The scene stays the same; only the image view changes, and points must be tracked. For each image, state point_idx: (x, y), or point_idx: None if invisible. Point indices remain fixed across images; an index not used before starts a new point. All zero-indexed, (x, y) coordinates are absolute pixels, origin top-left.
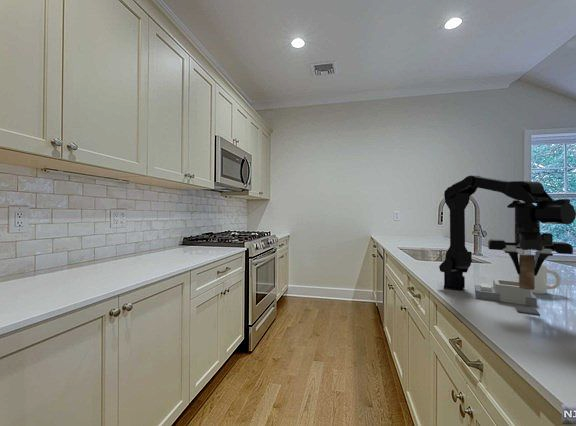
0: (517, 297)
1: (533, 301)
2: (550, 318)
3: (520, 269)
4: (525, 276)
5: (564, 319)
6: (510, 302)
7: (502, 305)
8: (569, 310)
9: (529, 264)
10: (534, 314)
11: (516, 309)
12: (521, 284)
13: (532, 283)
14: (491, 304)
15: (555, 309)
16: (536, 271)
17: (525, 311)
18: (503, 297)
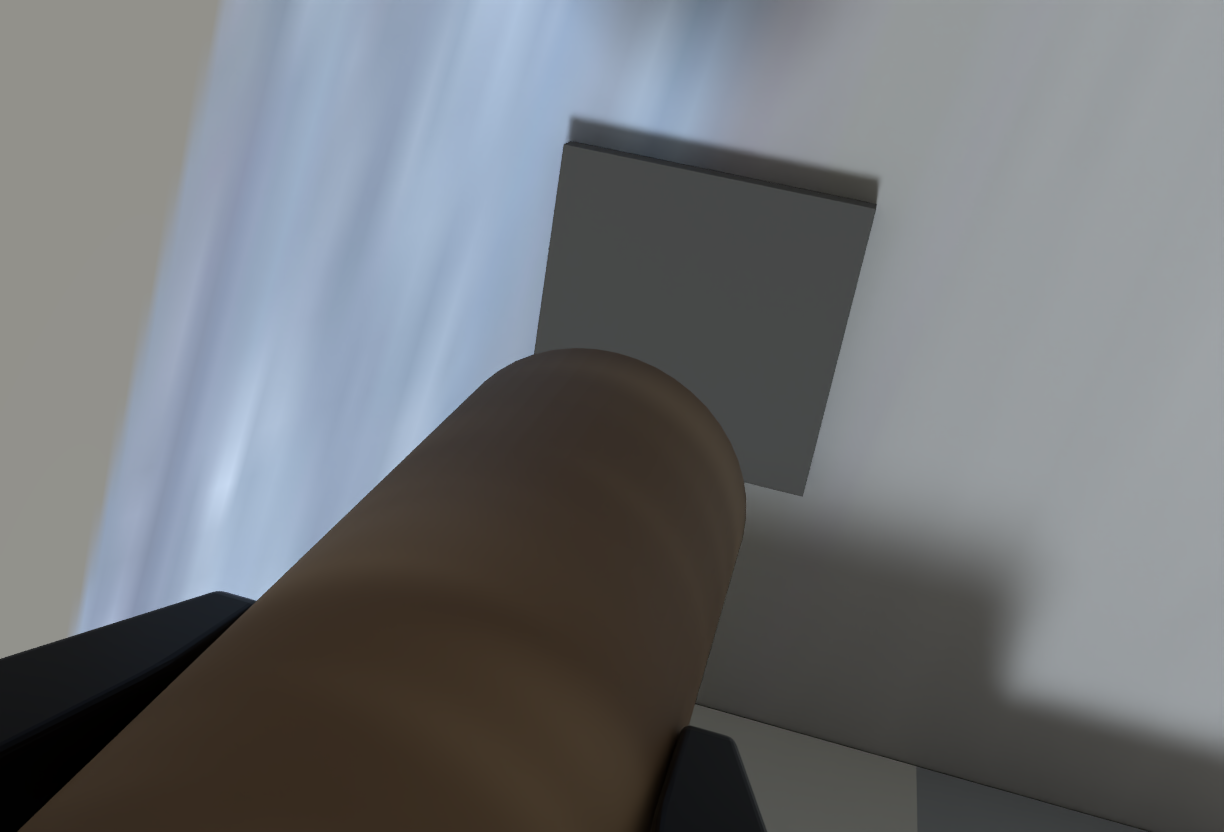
0: None
1: None
2: (462, 45)
3: (624, 821)
4: (566, 530)
5: (284, 77)
6: (774, 726)
7: (979, 545)
8: (113, 554)
9: (183, 805)
10: (639, 159)
11: (843, 335)
12: (713, 479)
13: (451, 425)
14: (1169, 554)
15: (259, 550)
16: (127, 645)
17: (747, 222)
18: (868, 802)
